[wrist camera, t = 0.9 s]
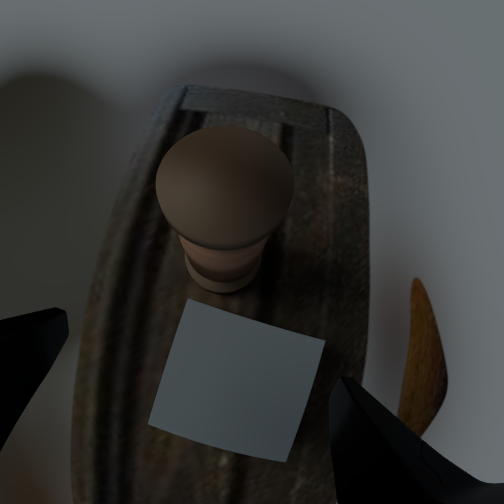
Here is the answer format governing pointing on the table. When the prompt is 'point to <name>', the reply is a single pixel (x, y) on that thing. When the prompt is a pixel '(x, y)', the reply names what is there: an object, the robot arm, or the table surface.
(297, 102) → the table surface
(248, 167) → the brown flanged cylinder
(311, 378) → the grey bridge block
